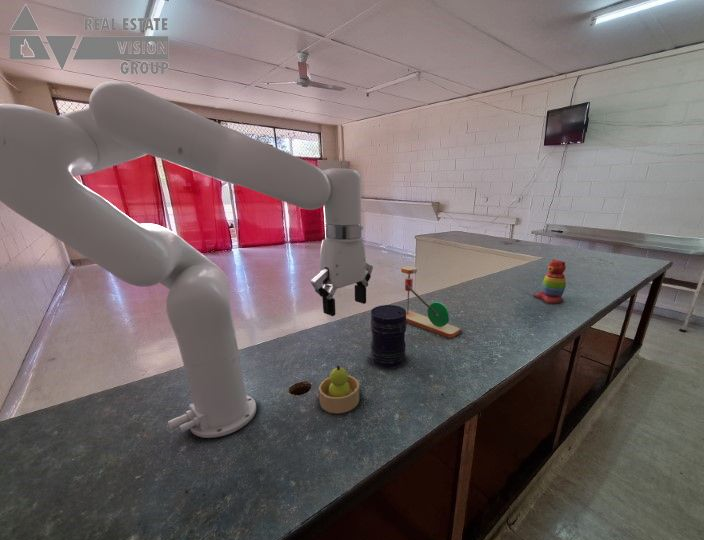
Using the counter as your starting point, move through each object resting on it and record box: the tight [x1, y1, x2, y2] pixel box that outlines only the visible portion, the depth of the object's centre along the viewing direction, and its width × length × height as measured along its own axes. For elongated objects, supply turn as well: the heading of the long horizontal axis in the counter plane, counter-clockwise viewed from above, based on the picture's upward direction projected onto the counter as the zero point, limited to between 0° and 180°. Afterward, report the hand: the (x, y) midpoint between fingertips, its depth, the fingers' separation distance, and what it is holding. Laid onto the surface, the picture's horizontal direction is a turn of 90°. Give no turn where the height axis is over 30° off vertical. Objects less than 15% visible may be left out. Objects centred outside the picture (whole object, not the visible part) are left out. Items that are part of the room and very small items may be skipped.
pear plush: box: [329, 365, 350, 397], centre depth 72 cm, size 5×5×9 cm
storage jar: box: [370, 304, 407, 369], centre depth 88 cm, size 10×10×15 cm
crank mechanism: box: [400, 265, 461, 339], centre depth 111 cm, size 25×7×19 cm, turn 49°
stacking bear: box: [534, 258, 567, 304], centre depth 140 cm, size 11×10×18 cm
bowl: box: [318, 375, 360, 414], centre depth 73 cm, size 9×9×4 cm
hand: (345, 308), depth 72 cm, fingers open, 9 cm apart
